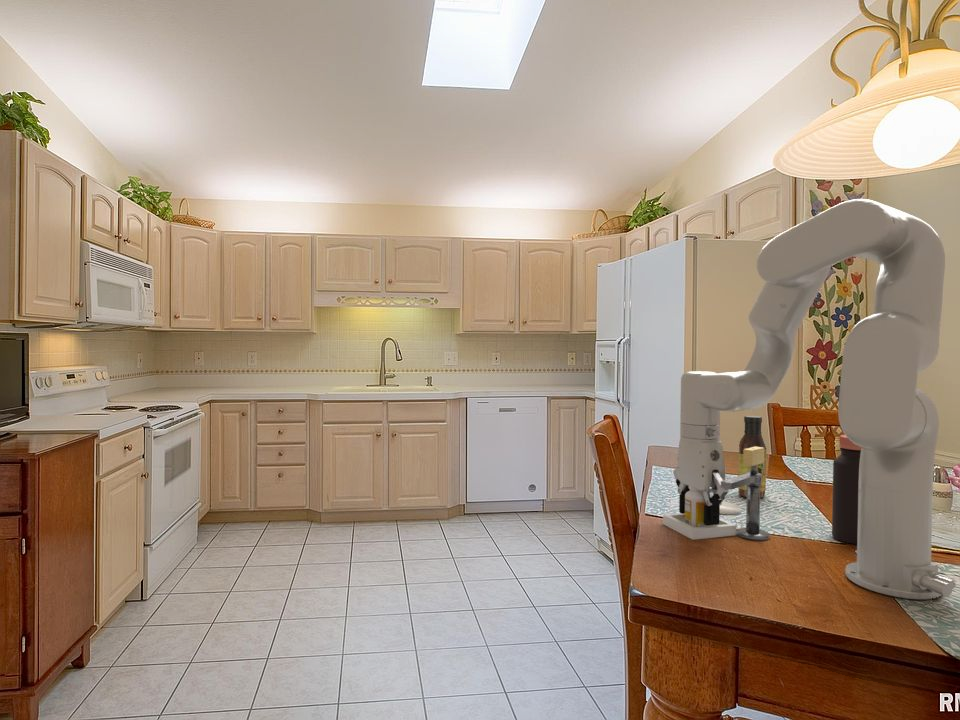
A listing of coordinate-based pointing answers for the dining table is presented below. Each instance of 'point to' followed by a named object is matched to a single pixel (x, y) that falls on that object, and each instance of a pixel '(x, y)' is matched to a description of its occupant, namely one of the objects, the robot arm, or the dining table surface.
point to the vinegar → (846, 492)
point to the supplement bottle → (695, 507)
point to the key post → (753, 517)
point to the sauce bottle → (748, 441)
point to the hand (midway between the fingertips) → (698, 517)
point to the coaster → (729, 508)
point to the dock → (694, 533)
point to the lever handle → (752, 459)
